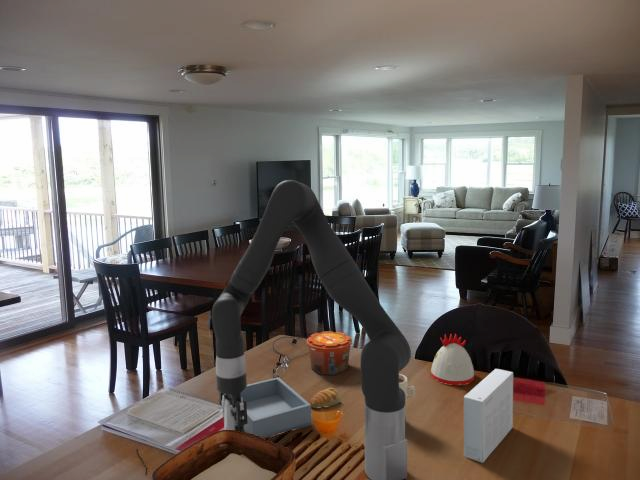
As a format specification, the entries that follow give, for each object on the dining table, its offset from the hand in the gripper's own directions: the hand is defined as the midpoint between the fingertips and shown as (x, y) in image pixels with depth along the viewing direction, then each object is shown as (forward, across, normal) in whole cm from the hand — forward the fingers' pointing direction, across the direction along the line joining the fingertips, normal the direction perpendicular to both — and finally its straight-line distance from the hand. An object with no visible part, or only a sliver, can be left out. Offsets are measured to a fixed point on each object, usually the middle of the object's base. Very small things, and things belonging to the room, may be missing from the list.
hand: (233, 430), depth 134 cm
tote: (+4, +8, -13) cm, 16 cm away
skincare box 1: (+4, 0, 0) cm, 4 cm away
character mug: (+4, -13, -42) cm, 44 cm away
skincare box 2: (+4, -33, -57) cm, 66 cm away
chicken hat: (+4, +1, -77) cm, 77 cm away
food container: (+4, +29, -46) cm, 55 cm away
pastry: (+4, +7, -32) cm, 33 cm away
